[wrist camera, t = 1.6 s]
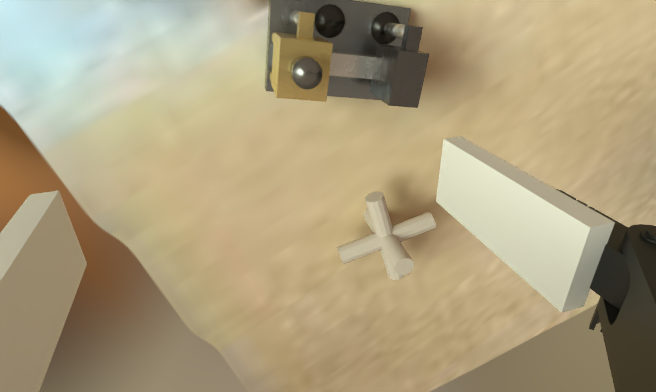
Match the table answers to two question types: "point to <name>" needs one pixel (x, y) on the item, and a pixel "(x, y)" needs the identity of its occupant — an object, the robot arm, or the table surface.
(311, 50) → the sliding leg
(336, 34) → the bolt plate
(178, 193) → the table surface
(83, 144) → the table surface
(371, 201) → the pipe connector
